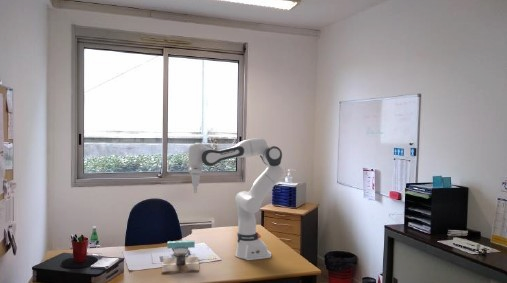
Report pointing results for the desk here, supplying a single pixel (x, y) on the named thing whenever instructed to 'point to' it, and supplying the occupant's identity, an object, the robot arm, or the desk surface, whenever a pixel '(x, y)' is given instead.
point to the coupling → (181, 247)
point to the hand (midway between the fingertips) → (195, 191)
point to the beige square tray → (180, 265)
